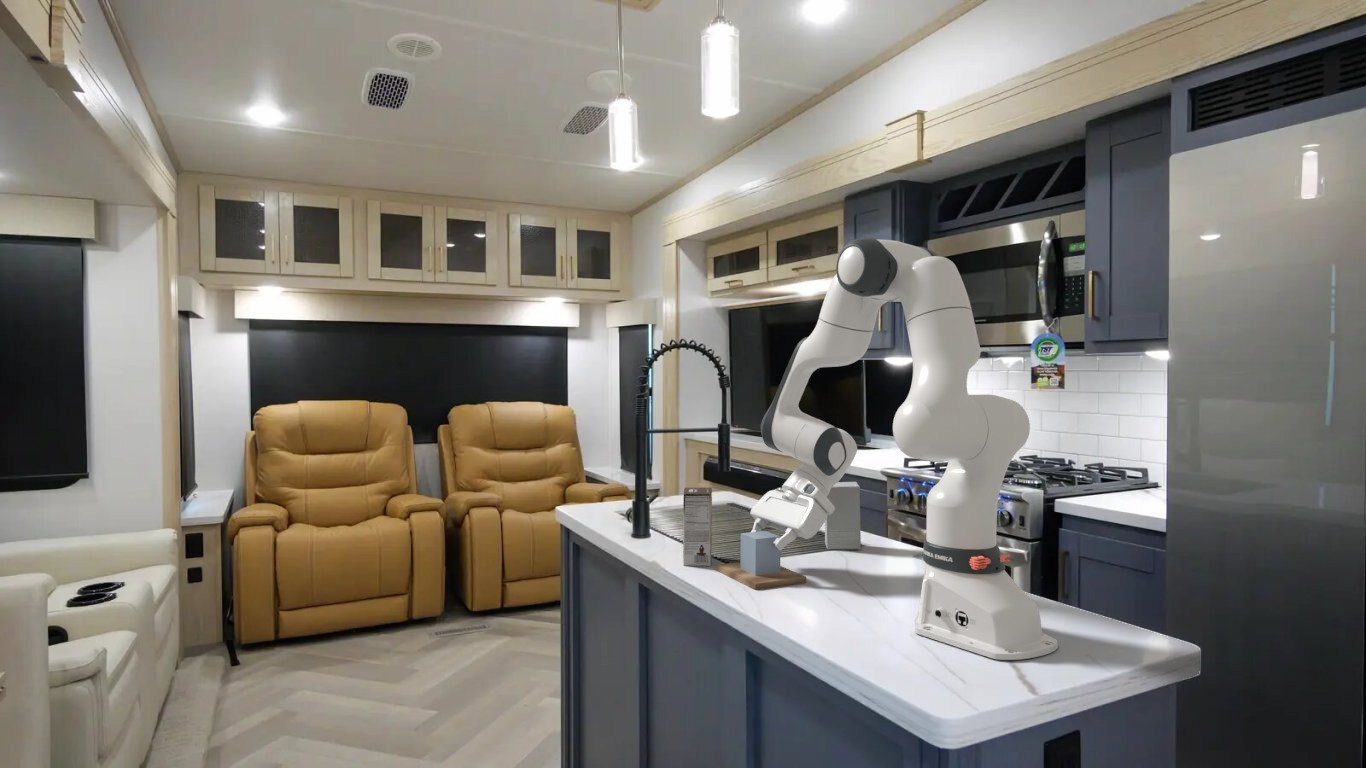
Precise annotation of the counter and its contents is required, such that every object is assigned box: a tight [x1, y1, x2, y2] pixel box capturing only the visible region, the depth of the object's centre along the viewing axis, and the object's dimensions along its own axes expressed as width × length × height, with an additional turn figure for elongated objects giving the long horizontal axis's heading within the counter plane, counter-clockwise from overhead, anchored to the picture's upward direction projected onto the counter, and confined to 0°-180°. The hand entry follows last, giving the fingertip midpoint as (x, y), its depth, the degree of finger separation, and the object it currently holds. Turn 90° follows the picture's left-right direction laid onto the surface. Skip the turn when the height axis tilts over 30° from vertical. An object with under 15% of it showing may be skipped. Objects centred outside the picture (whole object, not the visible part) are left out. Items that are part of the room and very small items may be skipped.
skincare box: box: [824, 481, 862, 550], centre depth 184 cm, size 8×7×16 cm
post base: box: [716, 561, 807, 590], centre depth 158 cm, size 16×12×7 cm
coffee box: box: [682, 487, 713, 567], centre depth 171 cm, size 9×6×16 cm
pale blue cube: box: [740, 530, 781, 576], centre depth 158 cm, size 6×6×8 cm
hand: (763, 543), depth 158 cm, fingers open, 8 cm apart
